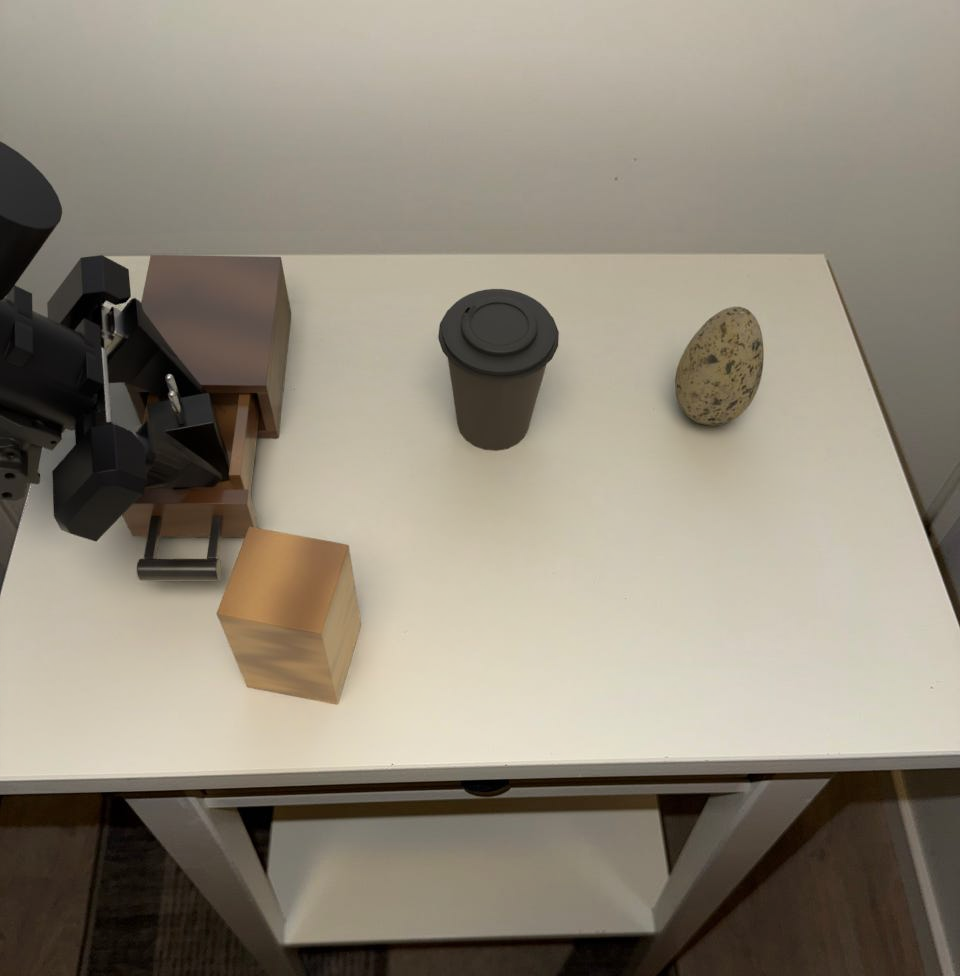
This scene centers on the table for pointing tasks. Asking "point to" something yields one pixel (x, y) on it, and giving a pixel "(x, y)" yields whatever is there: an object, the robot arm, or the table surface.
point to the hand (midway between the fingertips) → (212, 441)
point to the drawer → (202, 499)
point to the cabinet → (223, 325)
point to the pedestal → (292, 614)
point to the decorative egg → (721, 368)
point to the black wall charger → (192, 426)
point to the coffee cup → (496, 363)
